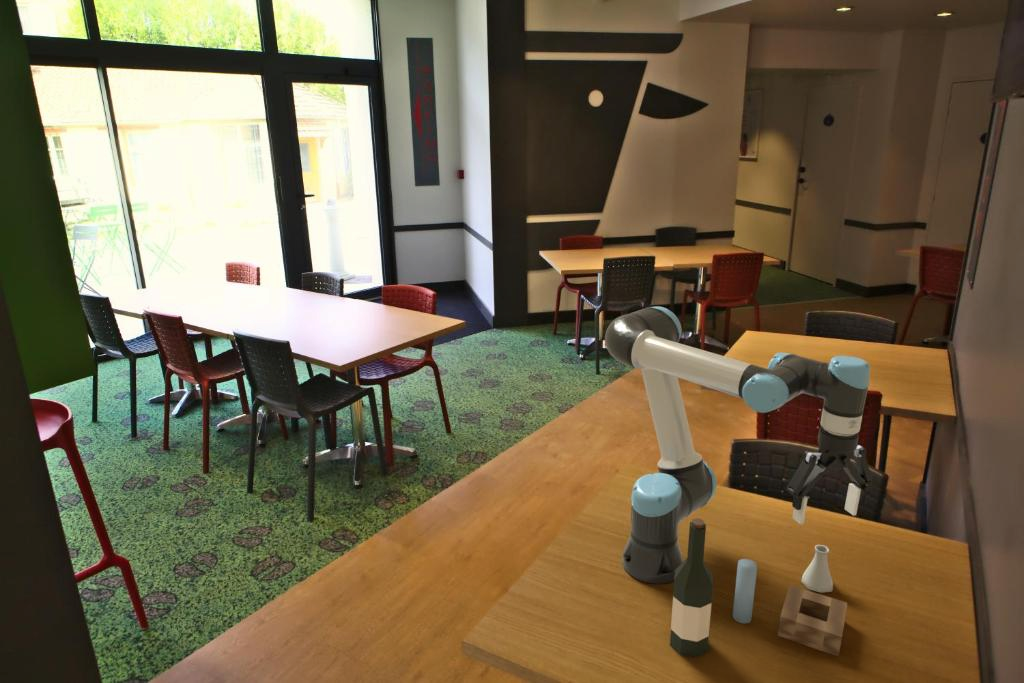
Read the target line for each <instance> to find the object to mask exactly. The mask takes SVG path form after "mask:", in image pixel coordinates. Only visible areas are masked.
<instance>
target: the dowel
mask: <svg viewBox="0 0 1024 683" xmlns="http://www.w3.org/2000/svg"><path fill="white" fill-rule="evenodd" d="M757 571H758V564H757V562H756V561H754V560H752V559H749V558H741V559H739V560H738V561H737V568H736V578H735V590H734V599H733V600H734V601H733V608H732V609H733V610H732V618H733V619H734V620H735V621H736V622H738V623H741V624H749V623H750V622H751V621H752V616H753V609H754V598H755V590H756V582H757V581H756V580H757V573H758V572H757Z"/></svg>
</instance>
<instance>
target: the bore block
mask: <svg viewBox="0 0 1024 683" xmlns="http://www.w3.org/2000/svg"><path fill="white" fill-rule="evenodd" d="M847 608H848V602H846V601H843V600H840V599H836V598H833V597H830V596H826V595H823V594H820V593H816V592H815V591H811V590H808V589H804V588H800V587H798V586H797V587H796V586H793V585H789V587H788V588H787V593H786V596H785V599H784V603H783V605H782V610H781V613H780V617H779V623H778V631H777V637H781V638H783V639H786V640H789V641H792V642H795V643H798V644H800V645H804V646H807V647H809V648H812V649H815V650H818V651H820V652H824V653H826V654H830V655H832V656H835V657H840V651H841V650H840V649H841V646H842V639H843V634H844V629H845V628H844V627H845V622H846V615H847Z"/></svg>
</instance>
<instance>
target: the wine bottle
mask: <svg viewBox="0 0 1024 683" xmlns="http://www.w3.org/2000/svg"><path fill="white" fill-rule="evenodd" d="M691 520H692V521H690V522H689V530H688V532H689V533H688V542H687V543H688V544H687V557H686V558H685V559H683V562H682V563H681V564H680V566H679V567H678V568H677V569H676V570H675V577H674V581H673V592H672V606H671V607H672V608H671V622H670V624H671V625H670V636H669V638H670V639H669V646H670V647H672V649H673V650H674V651H676V653H677V654H679V655H680V656H683V657H689V658H694V659H695V658H698V657H701V656H702V655H705V654H707V653H708V647H709V637H710V635H709V634H710V625H711V612H712V601H713V593H714V591H713V589H714V575H713V574H712V572H711V569H709V567H708V565H707V564H706V562H705V561H704V555H705V546H706V545H705V544H706V532H707V531H706V530H707V524H706V523H705V520H703V519H701V518H692V519H691Z"/></svg>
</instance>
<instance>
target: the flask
mask: <svg viewBox="0 0 1024 683" xmlns="http://www.w3.org/2000/svg"><path fill="white" fill-rule="evenodd" d="M814 550H815V554H814V557H813V558H812V561H811V562H810V564H809V565H808V566H807V568H806V569H805V571H804V573H803V574H802V577H801V583H802V584H803V585H804V587H805V588H807V589H806V590H809V591H812V592H818V593H819V594H820V593H821V594H822V593H823V594H824V593H832V592H833V590H834V589H833V588H834V582H833V579H832V576H831V572H830V567H829V564H828V554H830V548H829V547H828V546H826V545H822V544H815V546H814Z"/></svg>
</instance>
